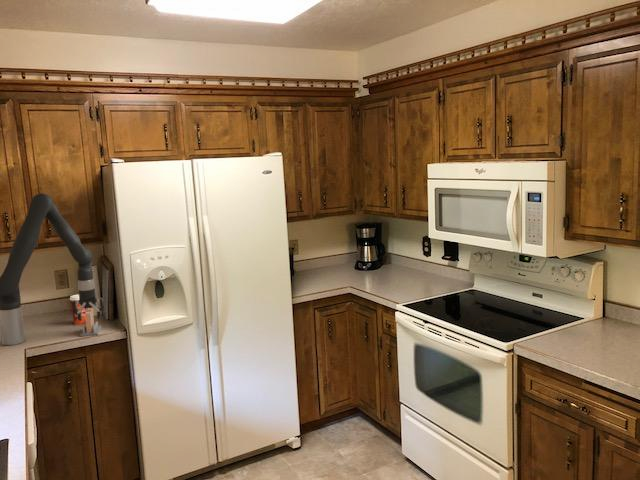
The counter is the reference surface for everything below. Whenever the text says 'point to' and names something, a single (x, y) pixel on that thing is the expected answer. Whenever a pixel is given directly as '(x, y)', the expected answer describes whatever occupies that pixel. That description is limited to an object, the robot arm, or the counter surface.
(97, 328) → the blue grey crystal cluster
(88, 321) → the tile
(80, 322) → the coffee cup
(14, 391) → the counter surface
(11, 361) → the counter surface
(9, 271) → the robot arm
